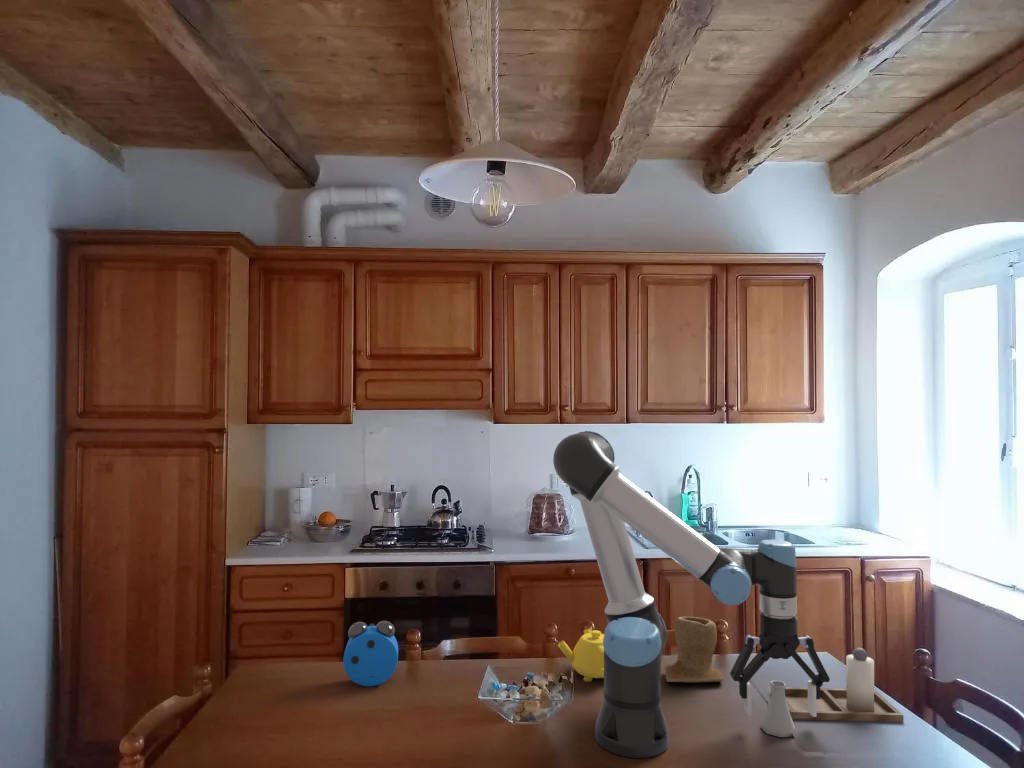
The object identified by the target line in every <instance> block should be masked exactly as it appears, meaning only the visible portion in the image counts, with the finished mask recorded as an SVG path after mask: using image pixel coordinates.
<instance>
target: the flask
mask: <svg viewBox="0 0 1024 768" xmlns="http://www.w3.org/2000/svg"><path fill="white" fill-rule="evenodd" d="M770 686H771V687H772V693H771V696H770V700H769V703H768V706H767V709H766V711H765V714H764V717H763V719H762V721H761V722H762V723H761V725H760V728H761V729H762V730H763V731H764V732H765V733H766V734H767V735H770V736H771V735H772V736H774V737H775V736H776V737H779V738H790V737H793V738H794V733H795V730H796V726H795V723H794V721H793V720H794V719H792V718H791V715H790V712H789V709H788V706H787V703H786V698H785V687H787V684H786V683H785V682H784V681H781V680H771V681H770Z"/></svg>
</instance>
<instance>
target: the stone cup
mask: <svg viewBox="0 0 1024 768" xmlns="http://www.w3.org/2000/svg"><path fill="white" fill-rule="evenodd" d="M717 631H718V630H717V625H716V623H715V622H714V621H712V620H711V619H709V618H708V619H706V618H703V617H698V616H697V617H696V616H679V617H678V618H676V621H675V624H674V637H675V642H676V647H677V660H676V661H675V662H673V663H669V664H664V672H665V673H664V674H665V680H666V683H667V682H668V683H714V682H722V681H724V675H723V673H722V672H721V671H720V670H719V669H718V668H715V666H713V655H714V653H715V650H716V647H717V643H718V641H717V638H718V632H717Z"/></svg>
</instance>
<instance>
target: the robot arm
mask: <svg viewBox="0 0 1024 768" xmlns="http://www.w3.org/2000/svg"><path fill="white" fill-rule="evenodd" d="M613 448H614V447H613V446H612V444H611V443H610V441H609V440H608V439H607V438H606V437H605V436H603V435H602V434H600V433H598V432H595V431H589V430H585V431H580V432H577V433H574V434H573V433H572V434H570V435H568V436H566V437H564V438H563V439H561V441H560V442H559V443H557V446H556V448H555V449H554V452H553V458H552V459H553V460H552V461H553V464H552V465H553V467H554V470H555V472H556V475H557V476H558V477H559V479H561V480H562V482H564V483H565V484H566V485H567V486H568V489H569V492H570V495H571V497H573V498H576V499H577V500H578V502H579V503H580V507H581V510H582V513H583V516H584V519H585V524H586V527H587V530H588V535H589V537H590V541H591V544H592V548H593V552H594V554H595V559H596V561H597V565H598V569H599V571H600V576H601V579H602V582H603V583H602V584H603V586H604V589H605V592H606V596H607V599H608V603H607V605H606V606H605V608H604V613H605V617H606V620H607V623H608V624H607V625H606V626H605V629H604V633H603V634H604V638H603V646H604V678H603V700H602V703H601V706H600V710H599V712H598V716H597V719H596V722H595V726H594V737H595V741H596V743H597V744H598V745H599V746H600V747H601V748H603V749H604V750H606V751H607V752H609V753H612V754H615V755H618V756H620V757H626V758H636V759H641V758H651V757H657V756H659V755H661V754H662V753H664V752H665V751H666V750H667V749H668V748H669V745H670V731H669V728H668V724H667V722H666V718H665V715H664V712H663V708H662V705H661V666H662V665H661V664H662V658H663V653H664V649H665V645H666V642H667V627H666V624H665V621H664V619H663V617H662V615H661V614H660V612H659V611H658V607H657V604H656V602H655V598H654V597H653V596H652V595H650V594H649V593H647V592H646V591H645V587H644V584H643V581H642V577H641V574H640V573H641V572H640V570H639V567H638V564H637V560H636V556H635V554H634V550H633V547H632V543H631V539H630V537H629V533H628V529H627V526H626V524H627V525H628V526H629V527H631V528H632V529H633V530H634V531H636V532H637V533H638V534H640V535H641V536H642V537H643V538H645V539H646V540H648V542H650V543H651V544H652V545H654V546H655V547H656V548H658V550H660V551H661V552H663V553H664V554H665V555H667V556H668V557H670V559H672V560H673V561H675V562H676V564H679V565H680V566H681V567H682V568H683V569H686V570H685V571H687V572H689V573H690V574H691V575H692V576H694V577H696V578H697V579H698V580H699V581H701V583H702V584H704V585H705V586H706V587H708V588H709V589H710V590H711V593H712V594H713V595H714V597H715V598H716V599H717V600H718V601H719V602H720V603H722V604H725V605H728V606H737V605H741V604H742V603H744V602H745V601H746V600H747V599H748V598H749V596H750V594H751V589H752V586H759V611H760V614H759V631H760V633H759V636H758V637H757V636H752V635H750V634H749V633H747V634H745V636H744V642H743V646H742V648H741V649H740V652H739V654H738V656H737V658H736V660H735V663H734V664H733V666H732V669H731V670H730V673H729V675H730V678H732V680H733V681H734V682H738V683H739V685H738V686H739V687H738V690H739V691H738V692H739V696H740V698H741V699H742V700H743V711H744V712H745V714H746V715H747V716H748V717H752V684H751V683H750V682H749V681H751V679H752V678H753V677H754V676H755V674H756V673H757V672H758V671H759V670H760V668H761V667H762V666H763V665H764V664H765V663H766V662H768V661H769V659H770V658H771V659H772V660H779V659H782V660H788V659H789V658H791V657H792V659H793V660H794V661H795V662H796V663H797V664H798V666H800V668H801V669H802V670H803V671H804V673H806V675H807V676H808V678H810V679H811V680H807V688H808V711H809V713H810V714H811V715H812V716H813V717H817V711H816V699H820V697H821V695H820V688H822V687H823V683H829V682H830V680H831V679H830V676H829V674H828V673H827V671H826V669H825V667H824V664H823V663H822V661H821V659H820V657H819V655H818V654H817V651H816V649H815V646H814V639H813V638H811V636H809V635H808V634H803V636H800V637H799V636H798V617H797V616H796V615H797V614H798V595H797V594H798V593H797V591H798V589H797V588H798V587H797V584H798V583H797V582H798V581H797V576H798V575H797V568H798V565H797V556H796V547H795V545H794V544H793V543H791V542H790V541H786V540H781V539H763V540H761V541H760V542H759V543H758V547H757V548H754V549H744V548H728V547H720V546H716V545H715V544H713V542H712V541H709V540H708V539H707V538H706V537H705V536H703V535H702V534H700V533H699V532H698V531H697V530H695V529H694V528H692V527H691V526H690V525H688V524H687V523H686V522H685V521H683V520H682V519H681V518H679V517H678V516H677V515H675V514H674V513H673V512H671V511H670V510H669V509H668V508H667V507H665V506H663V505H662V504H661V503H660V502H658V501H657V500H656V499H654V498H653V497H652V496H651V495H649V494H648V493H646V492H645V491H643V490H642V489H641V488H640V487H638V486H637V485H636V484H634V483H633V482H632V481H631V480H630V479H628V478H626V477H625V476H624V475H622V474H621V471H620V467H619V465H617V464H616V463H615V451H614V449H613ZM758 644H759V645H760V648H759V649H758V651H757V653H756V655H754V657H753V658H752V659H751V660H750V661H749V659H750V658H751V655H752V653H753V652H754V651H753V650H754V648H756V646H757V645H758ZM800 645H801V646H802V647H803V648H804V649H805V650H806V652H807V655H808V656H809V659H810V660H811V662H812V664H813V666H814V668H815V669H816V672H817V673H818V674H815V673H814V671H813V670H812V669H811V668H810V666H809V665H808V664H807V663H806V662H805V661H804V659H802V657H801V656H800V655H799V654H798V652H797V651H796V650H797V649H798V647H799V646H800ZM748 661H749V663H748ZM747 663H748V664H747Z"/></svg>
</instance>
